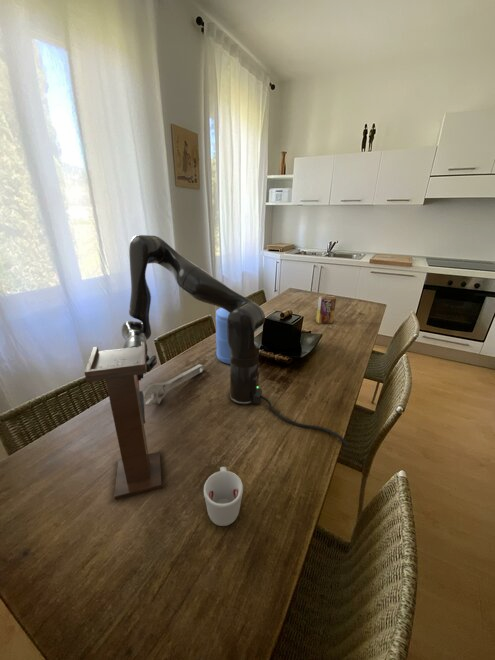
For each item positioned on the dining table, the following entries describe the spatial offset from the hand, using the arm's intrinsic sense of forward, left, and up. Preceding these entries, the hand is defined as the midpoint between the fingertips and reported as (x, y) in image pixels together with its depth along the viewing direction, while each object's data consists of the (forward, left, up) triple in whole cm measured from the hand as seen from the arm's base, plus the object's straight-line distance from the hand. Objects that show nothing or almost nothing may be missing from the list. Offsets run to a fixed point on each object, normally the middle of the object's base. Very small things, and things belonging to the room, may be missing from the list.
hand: (133, 378), depth 78 cm
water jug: (-18, -46, -16) cm, 52 cm away
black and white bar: (-1, +2, -4) cm, 5 cm away
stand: (-10, +17, -15) cm, 25 cm away
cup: (-32, +20, -16) cm, 40 cm away
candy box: (-59, -99, -16) cm, 116 cm away
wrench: (-4, -18, -16) cm, 24 cm away
